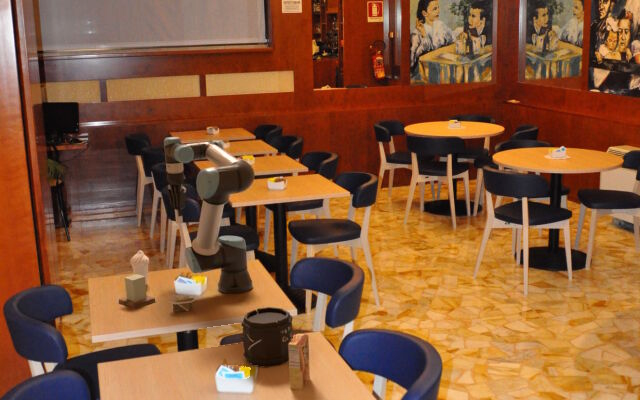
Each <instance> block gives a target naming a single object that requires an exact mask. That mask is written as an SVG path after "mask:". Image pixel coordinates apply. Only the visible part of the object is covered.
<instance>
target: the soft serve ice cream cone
mask: <svg viewBox="0 0 640 400" xmlns="http://www.w3.org/2000/svg"><path fill="white" fill-rule="evenodd" d="M129 262H130V265H131V268H132V272H133V273H132V275H135V274H138V275H141V276H145V283H146V285H147V283H148V277H149V275H148V274H149V263H150V258H149V257H148V256H147V255H145V253H144V251H142V250H141V249H140V250H138V251H137V253H136V254H134V255H133V256H132V257H131V258H130V261H129Z"/></svg>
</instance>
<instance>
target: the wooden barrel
mask: <svg viewBox="0 0 640 400" xmlns="http://www.w3.org/2000/svg"><path fill="white" fill-rule="evenodd" d="M240 325H241V326H242V334H240V340H242V346H243V357H244V358H246V359H245V360H246V361H247V362H248V363H249V364H250V365H252V366H253V365H258V366H257V367H261V368H271V367H278V366H283V365H284V364H285V363H287V362H288V363H289V349H288V344H289V343H290V342H291V340H292V339H293V338H294V327H293V316H292V315H291V314H290V312H289V311H288V310H287V309H286V310H285V309H284V308H282V307H271V306H267V307H260V308H257V309H252V310H250V311H248V312H247V313H245V315H244V317H243V319H242V322H241V324H240Z"/></svg>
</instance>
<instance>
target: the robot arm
mask: <svg viewBox="0 0 640 400" xmlns="http://www.w3.org/2000/svg"><path fill="white" fill-rule="evenodd" d="M163 148H164V159H165V165H166V166H165V167H166V169H165V170H166V172H167V173H166V180H167V182H168V185H165V188H166V190H167V195H168V199H169V204H170V207H171V208H173V209H174V215H175V216H174V217H175V224H177V225H178V224H182V223H183V222H184V221H183V220H184V219H183V218H184V217H183V214H184V213H183V209H185V208H186V201H187V200H186V199H187V193H188V188H187V187H185V186H184V183H183V181H184V180H185V173H184V171H185V170H184V164H188V163H190V162H191V161H197V160H208V161H209V162H211V163H212V164H213V165H214V166H209V167H207V168H203V169H201V170H200V171H199V172H198V174H197V176H196V181H195V184H196V187H195V188H196V191H197V194H198V196H199V197H200V199H201V200H202V206H201V210H200V217H199V222H198V227H197V228H198V229H197V233H196V237H195V238H193V240H192V243H191V246H188V247H186V248H185V251H184V255H185V260H186V263H187V266H188V268H189V270H190V271H191V272H192V273H193V274H202V273H205V272H211V271H215V270H220V275H219V279H218V283H217V290H218V291H219V292H221V293H222V294H223V293H224V294H239V293H245V292H248V291H250V290H251V289H253V281H252V280H253V279H252V277H251V275H250V273H249V270H248V259H247V258H248V256H247V255H248V253H247V245H246V240H245V239H244V238H243V237H241V236H237V235H221V236H219V233H220V229H221V227H220V226H221V222H222V217H223V212H224V211H223V210H224V207H225V204H227V203H228V202H229V200H230V195H234V194H239V193H244V192H247V190H248V189H250V187H251V186H252V185H253V183H254V181H255V170H254V168H253V166H252V165H251V164H250V163H249V162H247V161H246V160H244V159H238V158H237V157H235V156H234V155H232V154H231V153H230V152H228V151H226V150H225V149H224V146H223V144H222V142H221V141H220V140H217V139H216V140H215V139H214V140H211V139H210V140H206V141H205V140H204V141H197V142H190V143H183V144H182V140H181V137H178V136H170V137H165V138H164V140H163ZM215 166H216V167H215Z"/></svg>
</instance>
